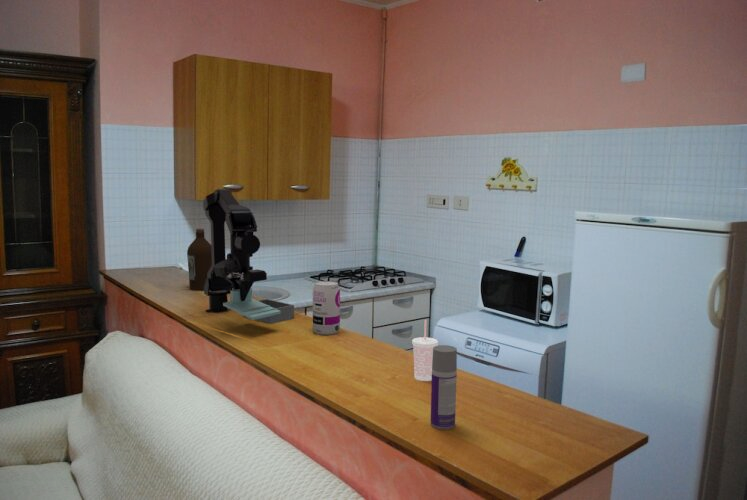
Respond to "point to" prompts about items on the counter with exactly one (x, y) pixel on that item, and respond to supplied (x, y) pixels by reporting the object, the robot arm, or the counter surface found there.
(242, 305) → the lid
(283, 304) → the tub
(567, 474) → the counter surface
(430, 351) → the beverage cup
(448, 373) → the container
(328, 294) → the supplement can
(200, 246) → the olive oil
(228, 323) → the counter surface
